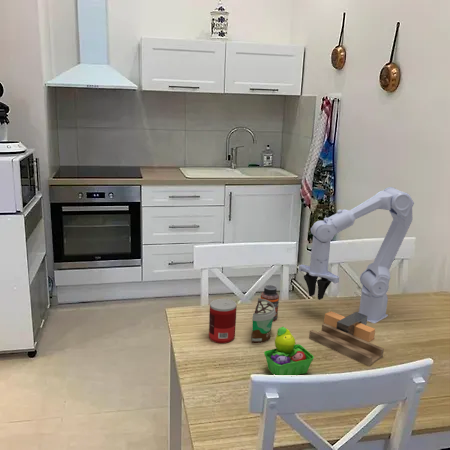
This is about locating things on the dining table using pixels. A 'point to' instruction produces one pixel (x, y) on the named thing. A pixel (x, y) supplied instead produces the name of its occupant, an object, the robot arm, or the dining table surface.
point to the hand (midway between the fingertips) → (316, 297)
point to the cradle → (347, 344)
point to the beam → (351, 322)
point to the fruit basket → (287, 355)
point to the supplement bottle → (271, 297)
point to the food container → (262, 321)
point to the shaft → (359, 329)
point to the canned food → (222, 320)
